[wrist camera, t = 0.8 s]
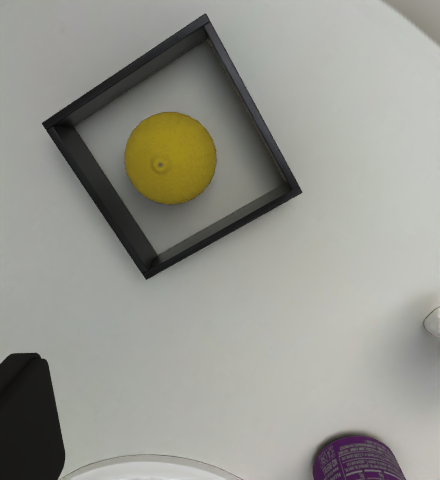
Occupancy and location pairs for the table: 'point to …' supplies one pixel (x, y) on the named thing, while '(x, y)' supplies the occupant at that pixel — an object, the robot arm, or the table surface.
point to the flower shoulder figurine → (433, 322)
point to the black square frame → (102, 188)
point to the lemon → (170, 158)
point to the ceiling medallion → (149, 469)
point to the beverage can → (356, 461)
